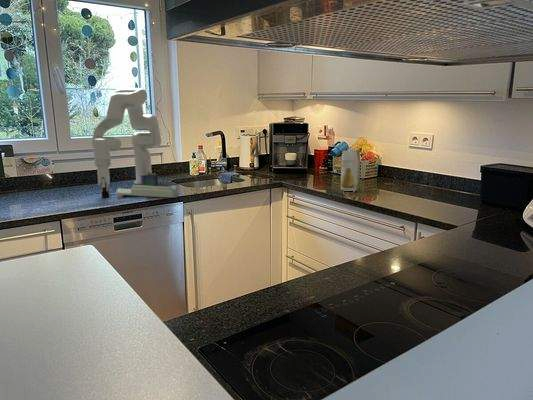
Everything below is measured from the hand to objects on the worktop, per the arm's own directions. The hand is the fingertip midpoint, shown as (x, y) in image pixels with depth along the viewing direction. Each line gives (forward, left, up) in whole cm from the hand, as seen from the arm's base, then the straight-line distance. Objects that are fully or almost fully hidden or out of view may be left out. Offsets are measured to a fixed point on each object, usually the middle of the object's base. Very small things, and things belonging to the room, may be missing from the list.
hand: (106, 197), depth 210 cm
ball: (0, 0, +1) cm, 1 cm away
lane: (0, +20, -1) cm, 20 cm away
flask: (-19, +22, -1) cm, 29 cm away
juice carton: (+18, +130, -1) cm, 131 cm away
